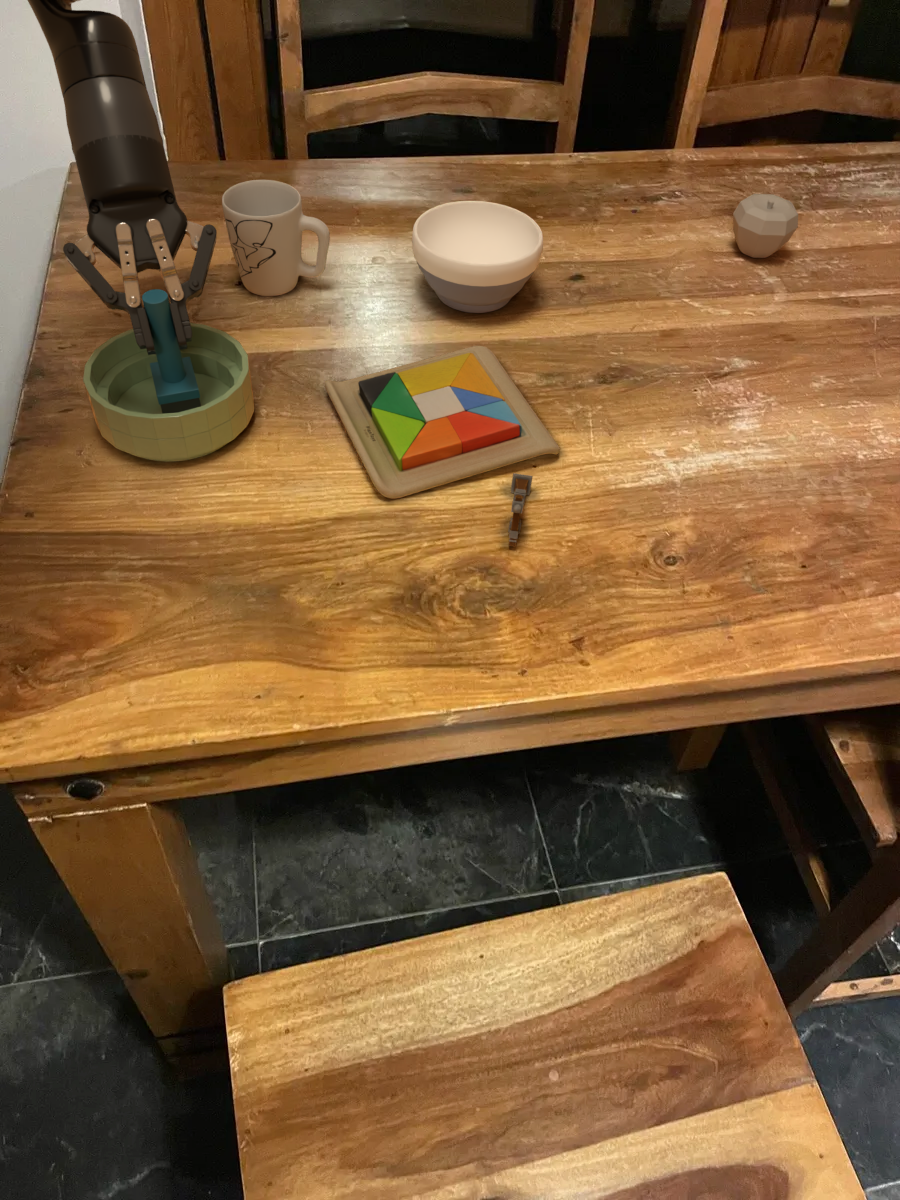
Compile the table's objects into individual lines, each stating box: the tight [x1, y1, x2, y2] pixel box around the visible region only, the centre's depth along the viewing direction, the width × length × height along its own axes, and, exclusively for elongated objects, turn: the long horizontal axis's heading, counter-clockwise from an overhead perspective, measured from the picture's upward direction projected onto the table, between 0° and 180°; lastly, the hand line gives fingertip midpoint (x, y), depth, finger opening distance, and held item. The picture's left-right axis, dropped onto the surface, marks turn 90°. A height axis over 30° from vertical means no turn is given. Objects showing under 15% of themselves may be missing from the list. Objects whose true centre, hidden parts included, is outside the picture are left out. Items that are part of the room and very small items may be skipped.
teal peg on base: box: [141, 288, 201, 414], centre depth 86 cm, size 5×4×12 cm
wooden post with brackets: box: [507, 473, 533, 547], centre depth 83 cm, size 2×8×4 cm, turn 171°
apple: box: [732, 193, 799, 259], centre depth 115 cm, size 8×8×7 cm
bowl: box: [411, 200, 544, 314], centre depth 105 cm, size 14×14×8 cm
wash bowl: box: [82, 322, 255, 462], centre depth 89 cm, size 15×15×6 cm
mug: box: [221, 179, 331, 297], centre depth 104 cm, size 11×8×10 cm
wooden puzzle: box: [324, 345, 561, 500], centre depth 91 cm, size 18×19×4 cm
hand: (167, 349), depth 83 cm, fingers closed on teal peg on base, 2 cm apart
